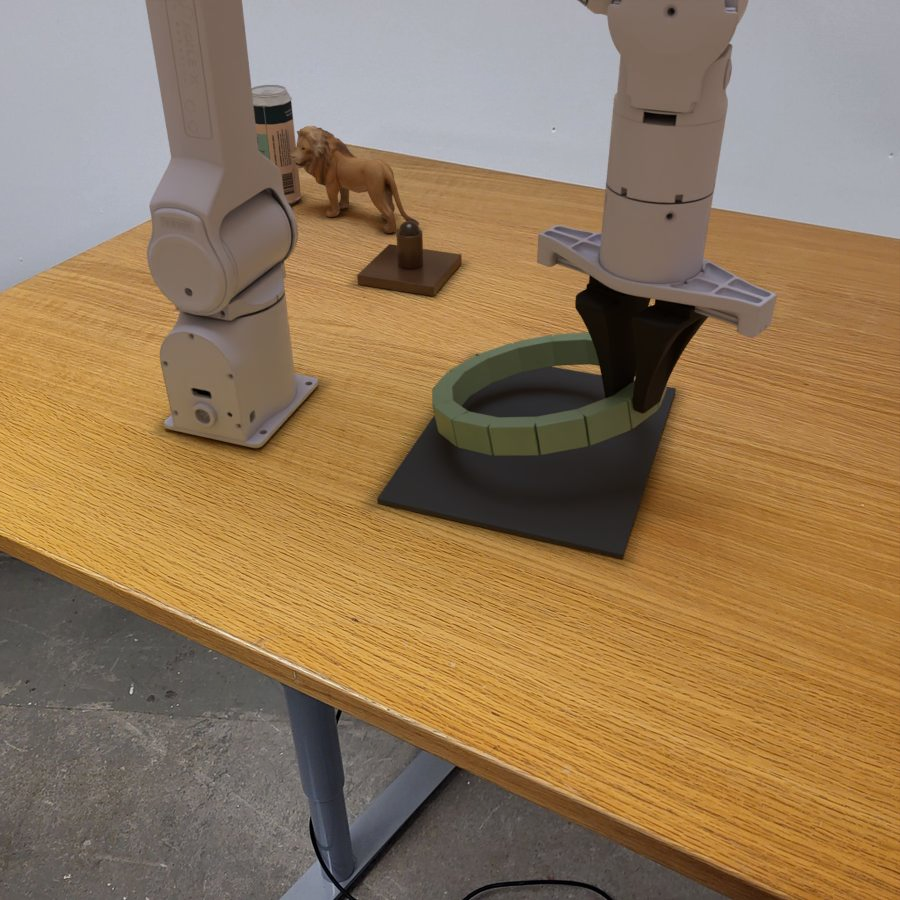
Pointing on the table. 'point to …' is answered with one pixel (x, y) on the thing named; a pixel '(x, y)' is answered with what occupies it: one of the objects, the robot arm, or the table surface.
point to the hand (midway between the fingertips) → (632, 399)
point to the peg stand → (410, 265)
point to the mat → (535, 470)
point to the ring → (529, 431)
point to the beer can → (277, 134)
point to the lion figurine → (347, 173)
